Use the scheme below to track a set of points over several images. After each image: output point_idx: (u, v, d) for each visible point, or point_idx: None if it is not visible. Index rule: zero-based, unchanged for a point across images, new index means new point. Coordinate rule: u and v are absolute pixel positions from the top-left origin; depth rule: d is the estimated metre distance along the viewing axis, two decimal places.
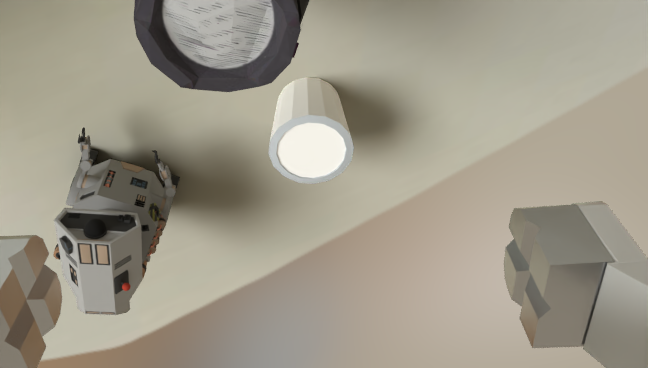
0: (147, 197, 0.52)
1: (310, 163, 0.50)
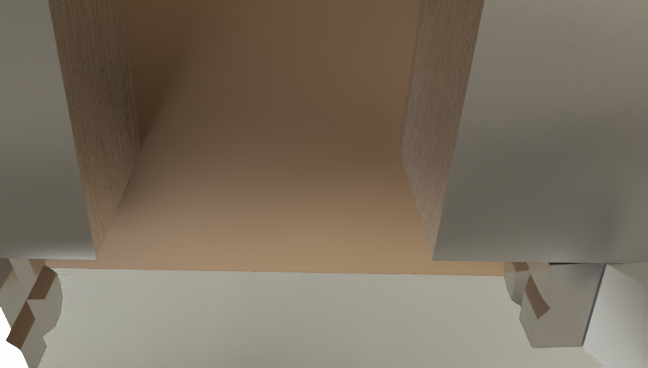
0: None
1: None
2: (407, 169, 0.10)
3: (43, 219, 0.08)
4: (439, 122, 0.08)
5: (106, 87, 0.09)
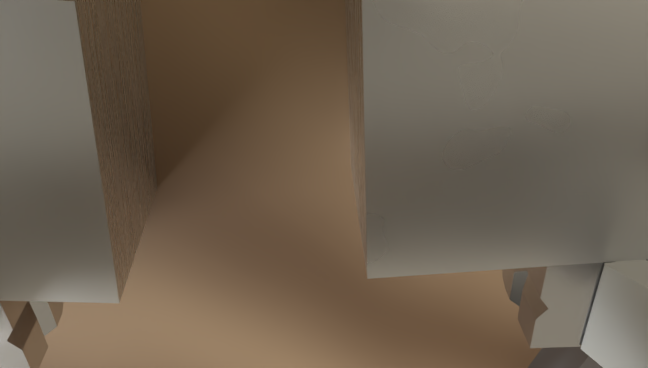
0: None
1: None
2: (354, 185, 0.11)
3: (72, 267, 0.08)
4: (359, 144, 0.09)
5: (129, 139, 0.09)
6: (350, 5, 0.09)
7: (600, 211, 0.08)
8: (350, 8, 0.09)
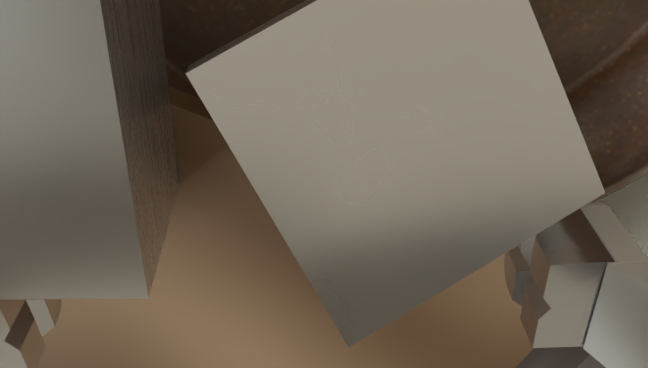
0: None
1: None
2: None
3: (100, 262, 0.08)
4: None
5: (152, 133, 0.09)
6: None
7: (512, 180, 0.09)
8: None
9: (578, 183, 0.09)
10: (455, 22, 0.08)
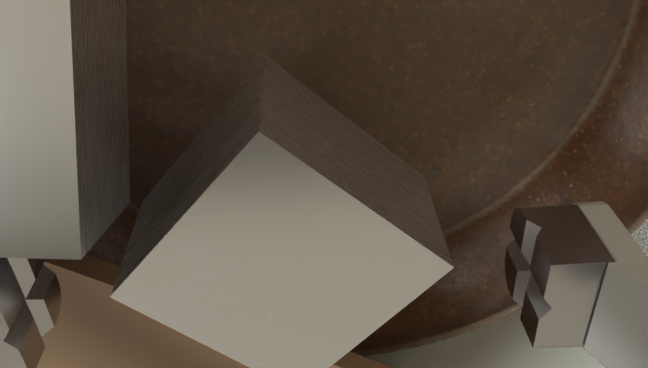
0: None
1: None
2: None
3: (38, 213, 0.09)
4: None
5: (106, 116, 0.10)
6: None
7: (370, 282, 0.11)
8: None
9: (428, 268, 0.11)
10: (273, 211, 0.10)
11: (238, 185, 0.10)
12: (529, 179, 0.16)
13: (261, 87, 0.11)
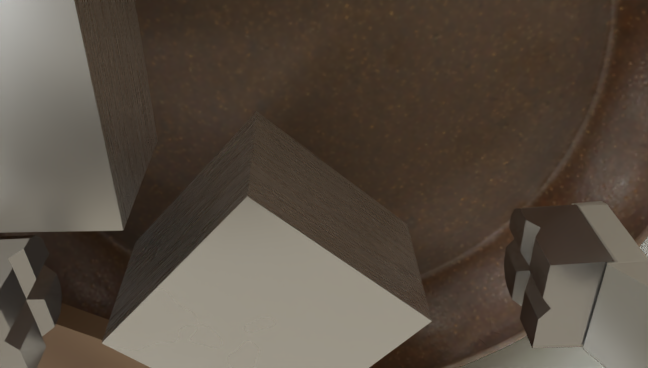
0: None
1: None
2: None
3: (79, 196, 0.10)
4: None
5: (126, 87, 0.10)
6: None
7: (351, 333, 0.12)
8: None
9: (407, 321, 0.12)
10: (259, 268, 0.11)
11: (226, 244, 0.10)
12: (501, 230, 0.17)
13: (251, 147, 0.11)
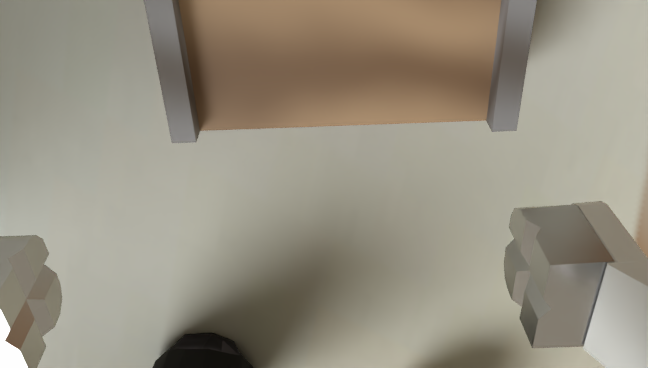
0: None
1: None
2: None
3: None
4: None
5: None
6: None
7: None
8: None
9: None
10: None
11: None
12: None
13: None
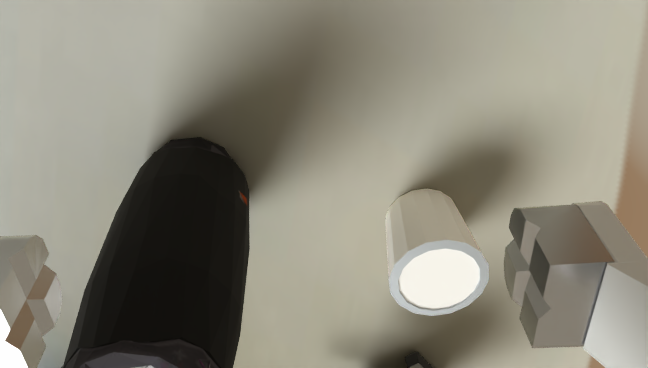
0: None
1: (453, 286, 0.42)
2: None
3: None
4: None
5: None
6: None
7: None
8: None
9: None
10: None
11: None
12: None
13: None
